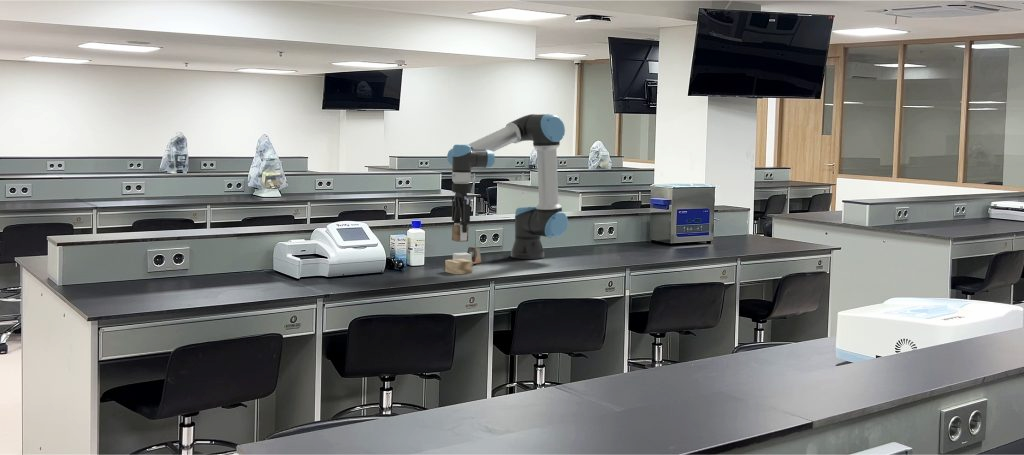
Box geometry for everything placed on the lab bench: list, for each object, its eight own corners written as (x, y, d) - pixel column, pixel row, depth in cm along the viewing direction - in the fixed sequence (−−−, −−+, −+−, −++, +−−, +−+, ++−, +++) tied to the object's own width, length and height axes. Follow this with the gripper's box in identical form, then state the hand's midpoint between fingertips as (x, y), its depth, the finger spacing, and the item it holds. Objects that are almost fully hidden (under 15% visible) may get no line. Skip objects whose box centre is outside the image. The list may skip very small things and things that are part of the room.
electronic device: (463, 265, 400) (463, 248, 399) (471, 262, 409) (472, 245, 408) (473, 266, 398) (473, 248, 398) (481, 263, 407) (481, 246, 407)
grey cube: (465, 266, 397) (465, 252, 397) (471, 268, 392) (471, 254, 391) (452, 267, 395) (452, 253, 394) (458, 269, 389) (458, 255, 389)
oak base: (461, 270, 387) (461, 258, 387) (472, 273, 381) (472, 261, 380) (445, 272, 383) (445, 260, 382) (455, 275, 376) (456, 262, 376)
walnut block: (462, 239, 384) (463, 225, 383) (468, 241, 379) (468, 226, 379) (451, 240, 381) (452, 225, 381) (456, 241, 377) (457, 226, 376)
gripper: (443, 181, 384) (443, 237, 387) (462, 184, 368) (461, 242, 371) (460, 181, 388) (459, 236, 390) (479, 184, 372) (478, 242, 374)
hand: (460, 239), depth 380 cm, fingers closed on walnut block, 5 cm apart
